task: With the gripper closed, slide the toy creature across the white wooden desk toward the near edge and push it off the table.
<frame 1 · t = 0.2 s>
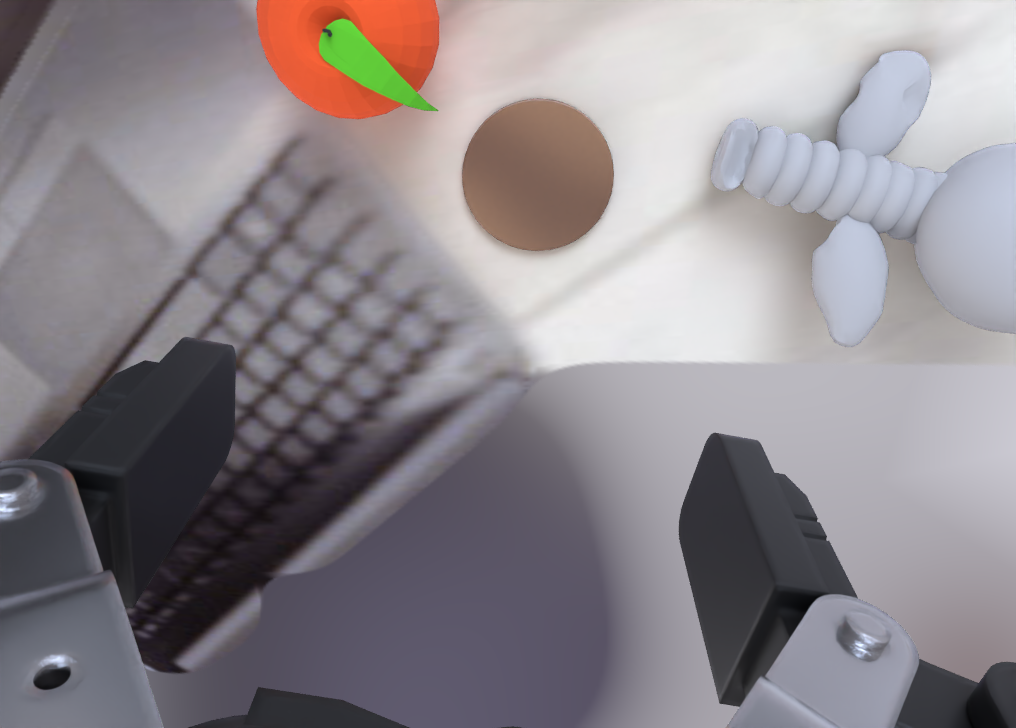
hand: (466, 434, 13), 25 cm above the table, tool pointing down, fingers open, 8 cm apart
toy creature: (921, 194, 35), on the table
clementine: (379, 27, 33), on the table
cork coaster: (537, 176, 35), on the table
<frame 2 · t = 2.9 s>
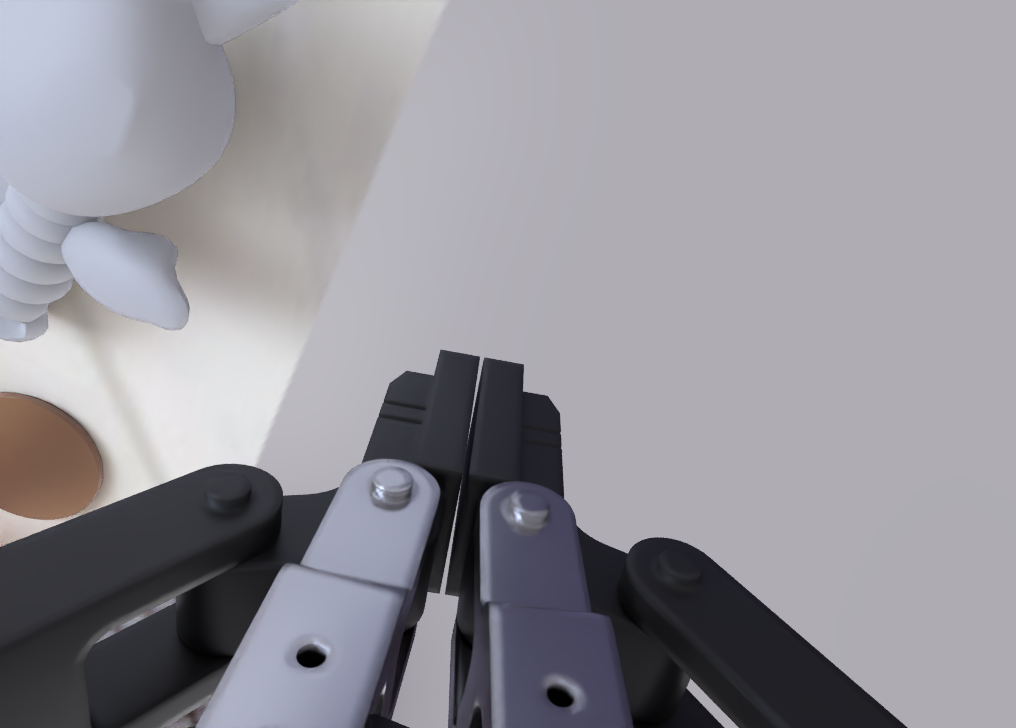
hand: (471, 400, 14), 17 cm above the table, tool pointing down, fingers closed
toy creature: (134, 110, 28), on the table
cork coaster: (28, 456, 36), on the table
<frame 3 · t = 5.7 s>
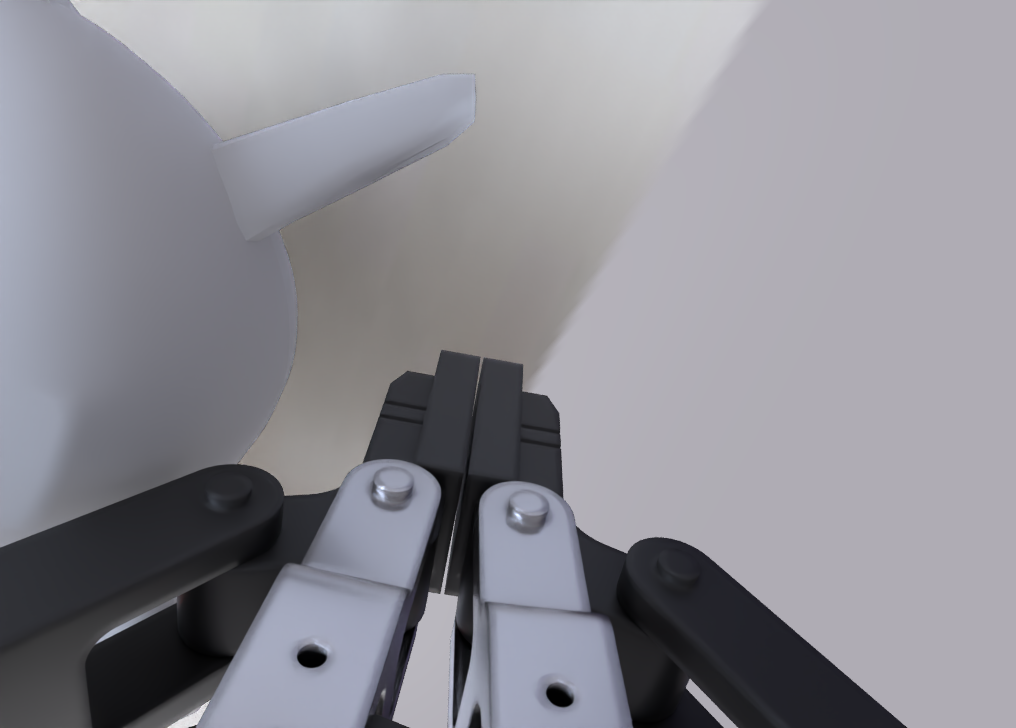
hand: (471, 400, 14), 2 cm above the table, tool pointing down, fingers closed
toy creature: (103, 283, 16), on the table, touching gripper
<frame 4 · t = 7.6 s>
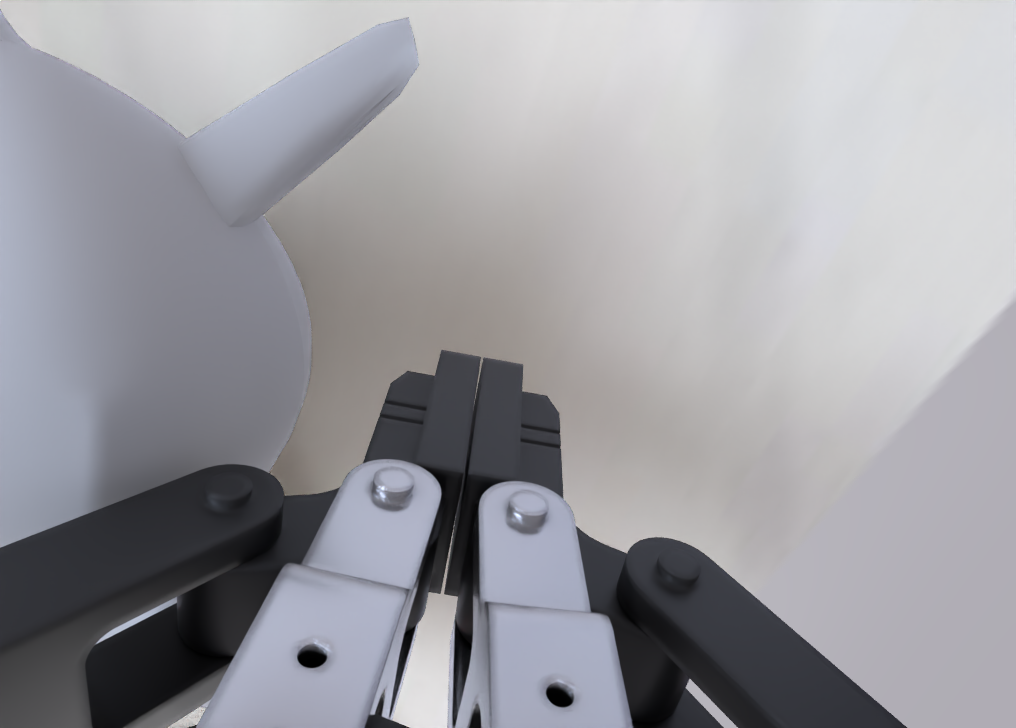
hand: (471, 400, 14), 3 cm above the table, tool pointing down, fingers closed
toy creature: (137, 328, 16), on the table, touching gripper
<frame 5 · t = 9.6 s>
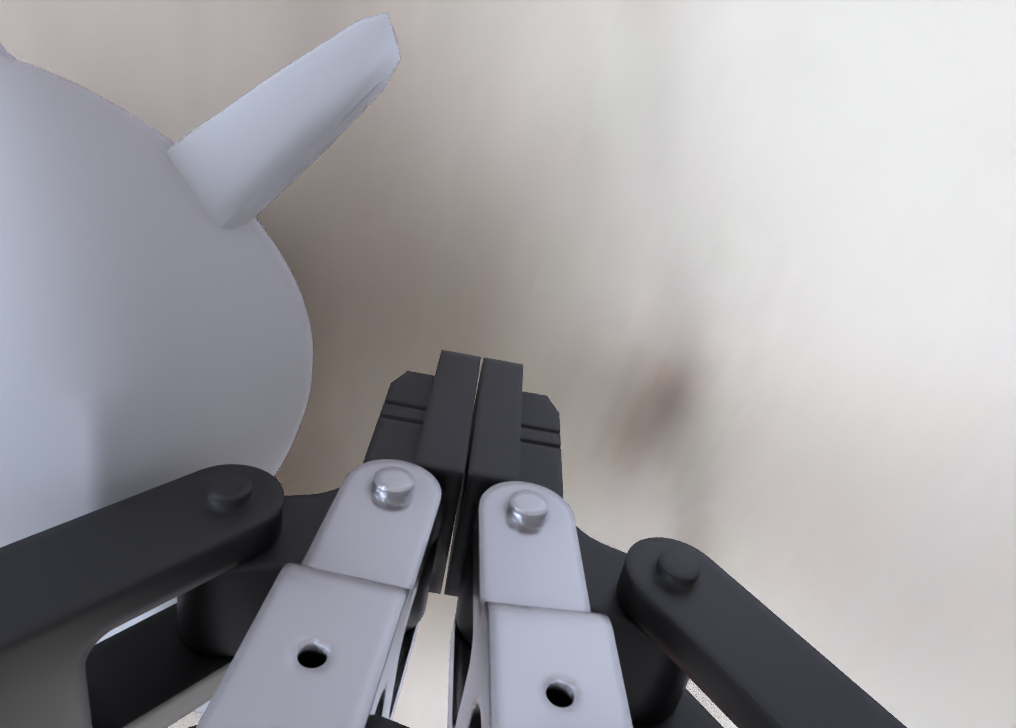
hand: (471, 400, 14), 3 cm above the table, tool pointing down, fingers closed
toy creature: (144, 345, 17), on the table, touching gripper
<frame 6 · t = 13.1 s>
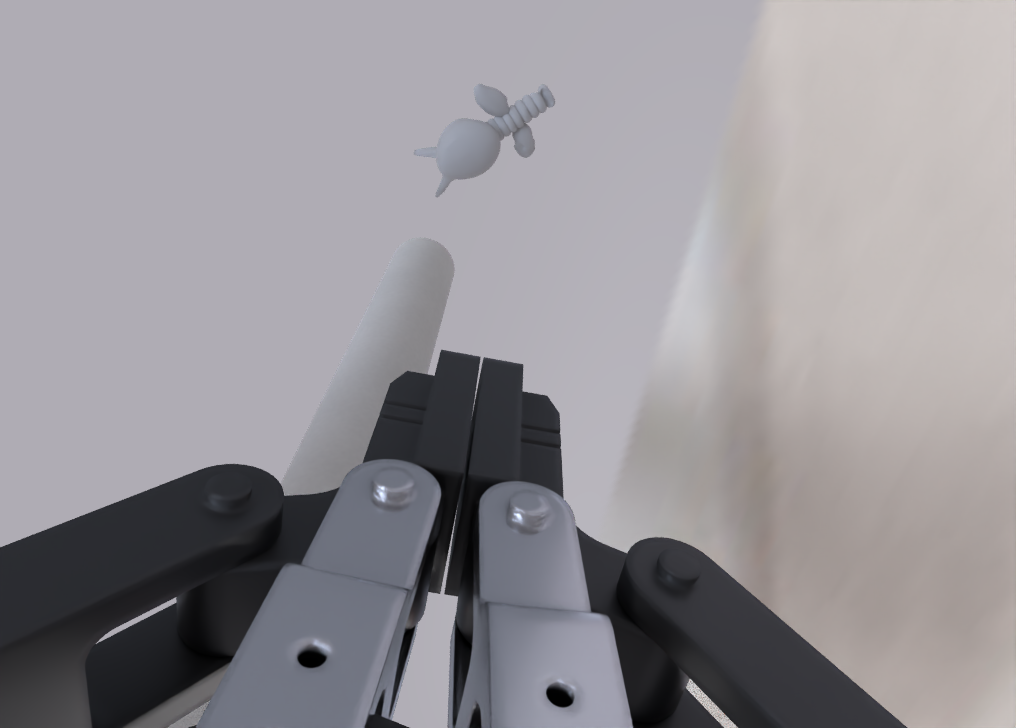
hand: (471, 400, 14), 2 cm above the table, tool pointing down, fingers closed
toy creature: (485, 133, 102), on the floor
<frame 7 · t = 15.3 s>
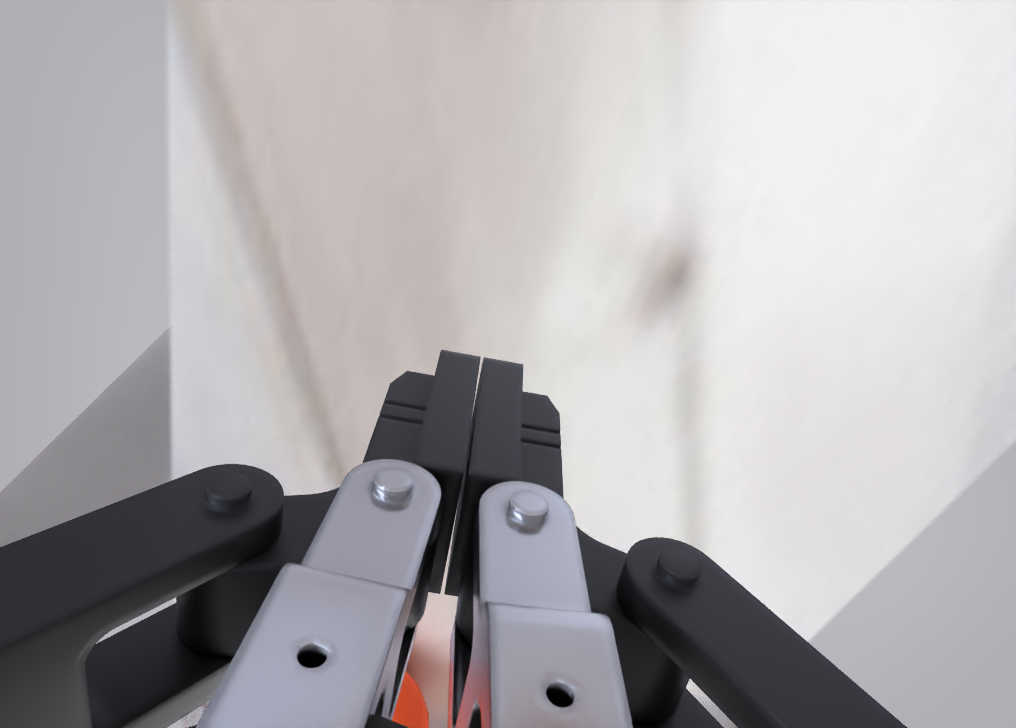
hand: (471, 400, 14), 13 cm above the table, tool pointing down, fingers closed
clementine: (376, 662, 36), on the table
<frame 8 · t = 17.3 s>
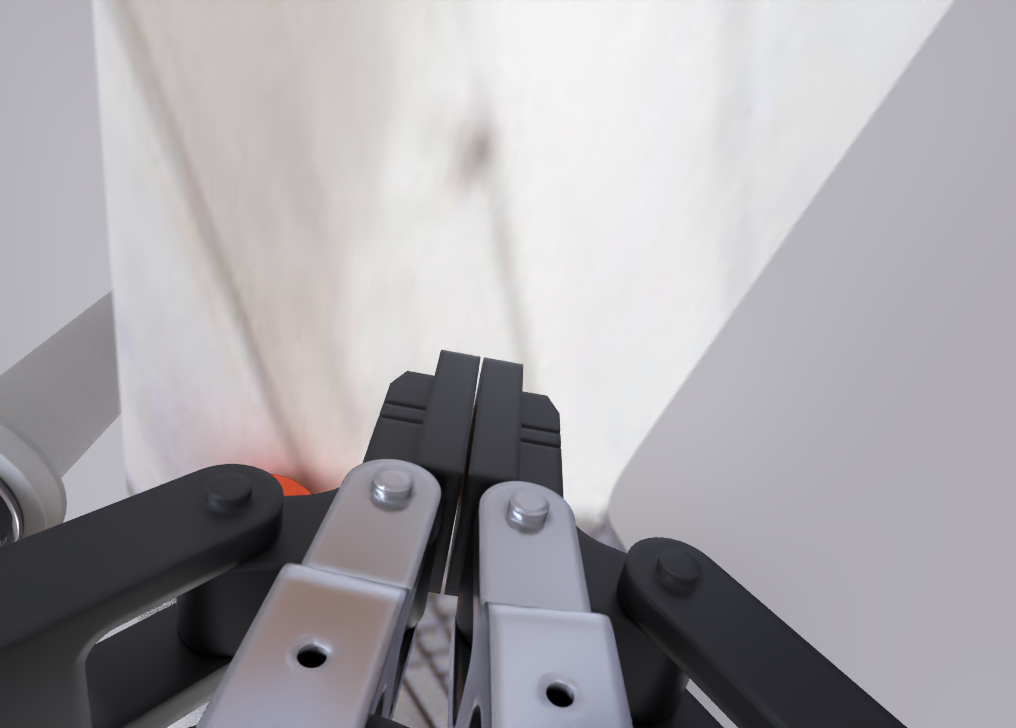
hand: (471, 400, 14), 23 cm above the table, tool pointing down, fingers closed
clementine: (289, 493, 44), on the table
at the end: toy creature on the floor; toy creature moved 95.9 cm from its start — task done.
